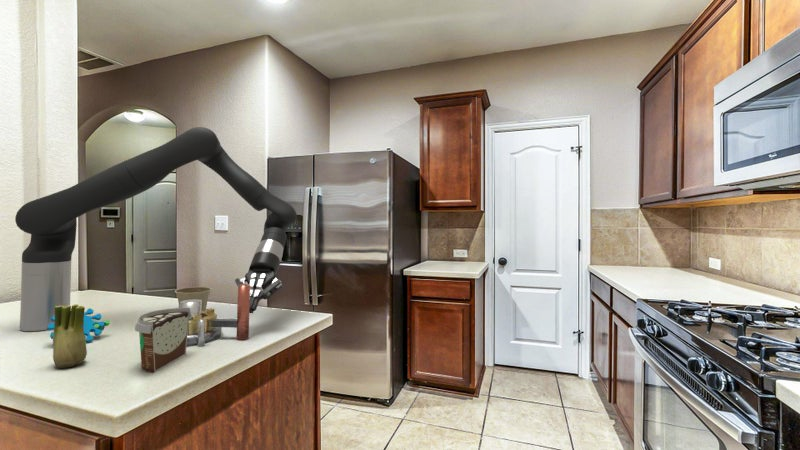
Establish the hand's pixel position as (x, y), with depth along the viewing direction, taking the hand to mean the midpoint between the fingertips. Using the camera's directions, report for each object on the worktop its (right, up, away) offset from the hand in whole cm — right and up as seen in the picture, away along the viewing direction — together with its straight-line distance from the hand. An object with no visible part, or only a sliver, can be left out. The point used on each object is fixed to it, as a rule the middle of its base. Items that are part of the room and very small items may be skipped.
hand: (248, 311), depth 90 cm
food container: (-11, -6, -18) cm, 22 cm away
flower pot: (-23, -6, +14) cm, 27 cm away
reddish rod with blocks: (-9, -6, -2) cm, 11 cm away
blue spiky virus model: (-37, -5, -7) cm, 38 cm away
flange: (-14, -6, -2) cm, 15 cm away
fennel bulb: (-27, -6, -21) cm, 34 cm away
